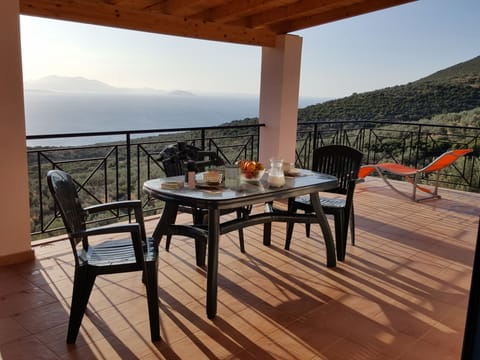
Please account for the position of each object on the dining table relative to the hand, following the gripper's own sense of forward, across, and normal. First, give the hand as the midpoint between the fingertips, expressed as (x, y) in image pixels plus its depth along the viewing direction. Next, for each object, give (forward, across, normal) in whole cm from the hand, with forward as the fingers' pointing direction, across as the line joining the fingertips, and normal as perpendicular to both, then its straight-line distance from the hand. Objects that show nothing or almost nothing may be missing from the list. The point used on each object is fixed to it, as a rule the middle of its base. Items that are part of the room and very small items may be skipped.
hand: (158, 161), depth 285 cm
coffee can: (-36, +30, +20) cm, 51 cm away
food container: (-36, +14, +20) cm, 44 cm away
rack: (-3, +10, +17) cm, 20 cm away
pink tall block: (-11, +18, +18) cm, 28 cm away
